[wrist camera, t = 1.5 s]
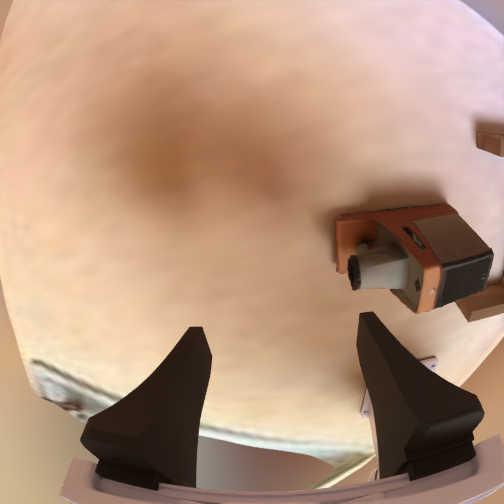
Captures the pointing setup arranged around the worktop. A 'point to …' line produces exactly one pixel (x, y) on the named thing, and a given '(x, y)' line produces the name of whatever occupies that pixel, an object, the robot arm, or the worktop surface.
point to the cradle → (500, 295)
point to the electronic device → (413, 254)
